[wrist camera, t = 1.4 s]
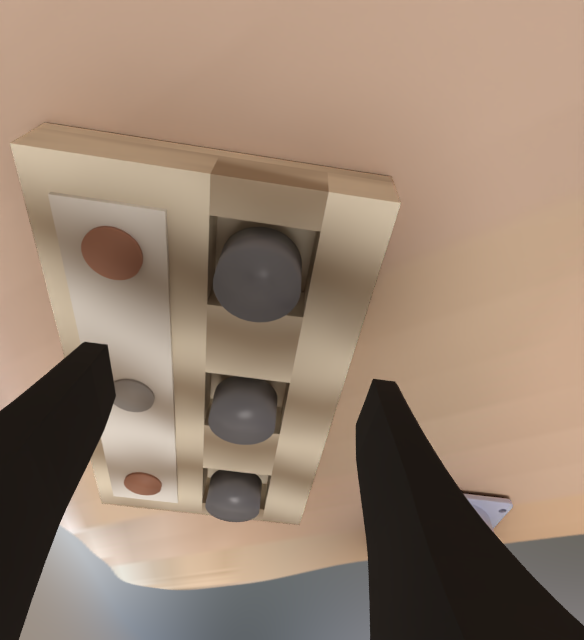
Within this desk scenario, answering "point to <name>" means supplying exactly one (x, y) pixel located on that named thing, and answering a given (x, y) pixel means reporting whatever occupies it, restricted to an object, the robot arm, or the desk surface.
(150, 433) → the button board
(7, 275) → the desk surface
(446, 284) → the desk surface
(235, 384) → the middle button
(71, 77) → the desk surface
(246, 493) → the button
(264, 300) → the button
